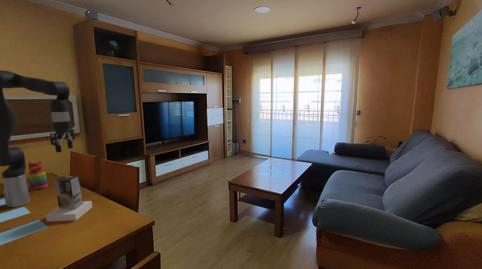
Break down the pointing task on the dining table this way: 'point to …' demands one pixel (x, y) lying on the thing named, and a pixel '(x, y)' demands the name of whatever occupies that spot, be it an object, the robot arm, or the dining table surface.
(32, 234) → the dining table surface
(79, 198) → the coffee box
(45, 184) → the stacking bear
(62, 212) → the plinth
